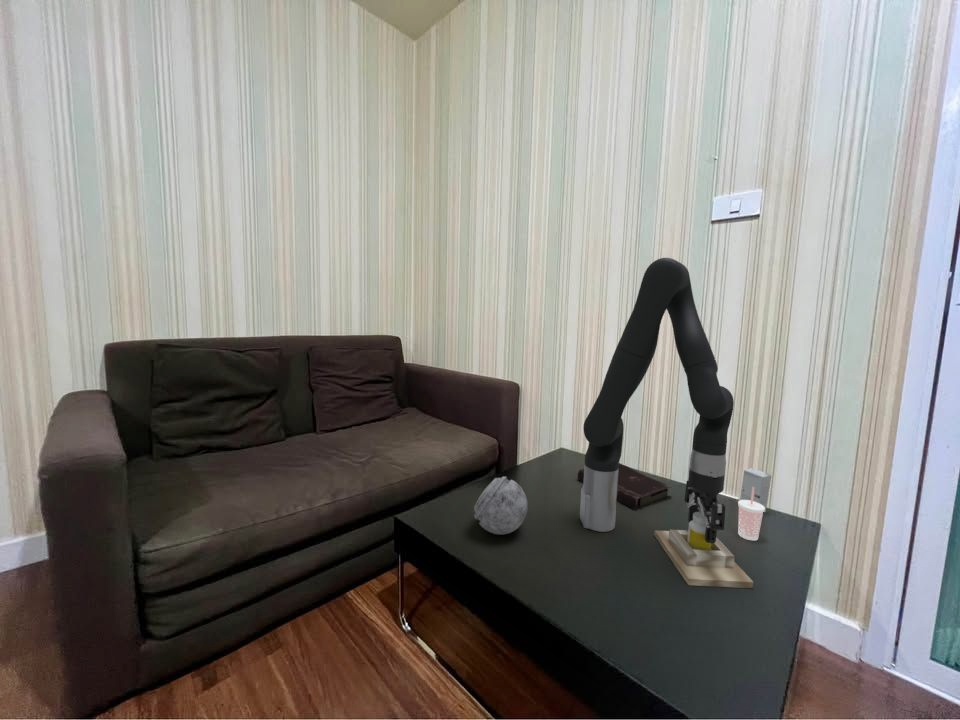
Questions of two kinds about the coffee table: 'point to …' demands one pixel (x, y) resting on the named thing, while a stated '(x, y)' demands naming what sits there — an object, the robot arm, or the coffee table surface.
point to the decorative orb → (501, 506)
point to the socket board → (704, 571)
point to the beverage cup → (750, 518)
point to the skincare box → (756, 486)
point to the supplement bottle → (698, 533)
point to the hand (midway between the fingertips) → (701, 532)
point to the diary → (636, 488)
